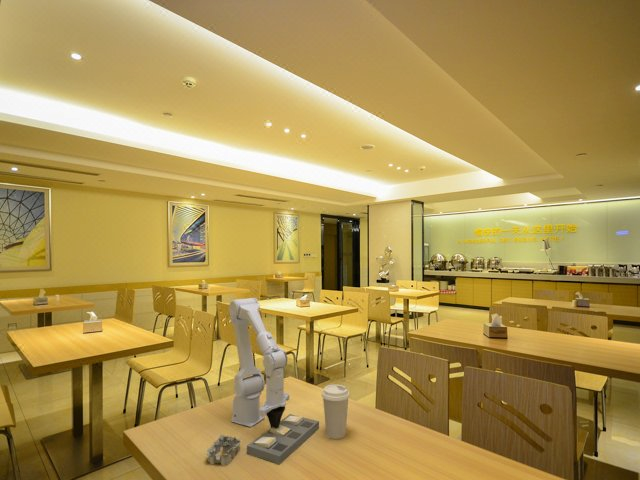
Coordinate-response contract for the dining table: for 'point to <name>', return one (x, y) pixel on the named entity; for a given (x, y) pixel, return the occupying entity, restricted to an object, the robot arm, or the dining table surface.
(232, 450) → the egg carton
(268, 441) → the rocker carton end
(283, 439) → the grey rocker switch panel
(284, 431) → the rocker middle
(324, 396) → the coffee cup
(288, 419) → the labelled cream tile
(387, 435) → the dining table surface
